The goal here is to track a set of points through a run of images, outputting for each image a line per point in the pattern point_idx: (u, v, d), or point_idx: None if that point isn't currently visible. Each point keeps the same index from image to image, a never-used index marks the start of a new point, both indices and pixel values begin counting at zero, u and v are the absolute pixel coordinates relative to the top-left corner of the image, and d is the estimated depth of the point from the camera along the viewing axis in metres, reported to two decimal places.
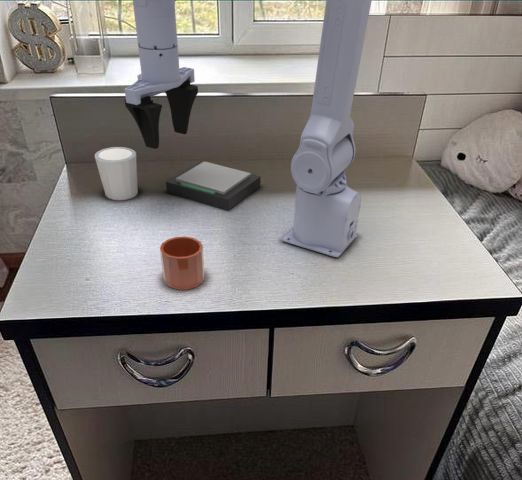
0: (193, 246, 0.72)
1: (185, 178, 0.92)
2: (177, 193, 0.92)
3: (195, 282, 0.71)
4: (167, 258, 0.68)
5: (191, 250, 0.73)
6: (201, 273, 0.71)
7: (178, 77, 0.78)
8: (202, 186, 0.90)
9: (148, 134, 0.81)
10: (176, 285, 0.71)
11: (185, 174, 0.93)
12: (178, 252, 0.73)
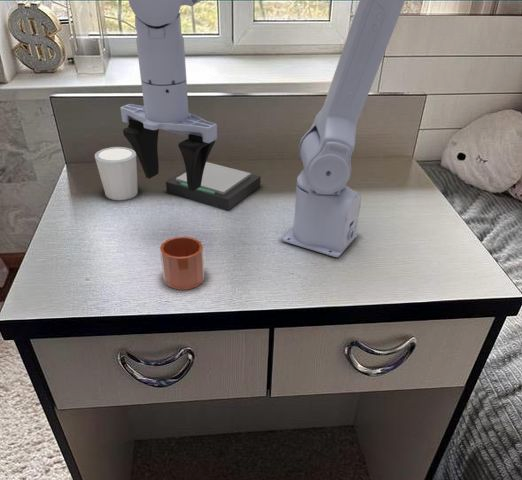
0: (193, 246, 0.72)
1: (185, 178, 0.92)
2: (177, 193, 0.92)
3: (195, 282, 0.71)
4: (167, 258, 0.68)
5: (191, 250, 0.73)
6: (201, 273, 0.71)
7: None
8: (202, 186, 0.90)
9: (197, 174, 0.72)
10: (176, 285, 0.71)
11: (185, 174, 0.93)
12: (178, 252, 0.73)
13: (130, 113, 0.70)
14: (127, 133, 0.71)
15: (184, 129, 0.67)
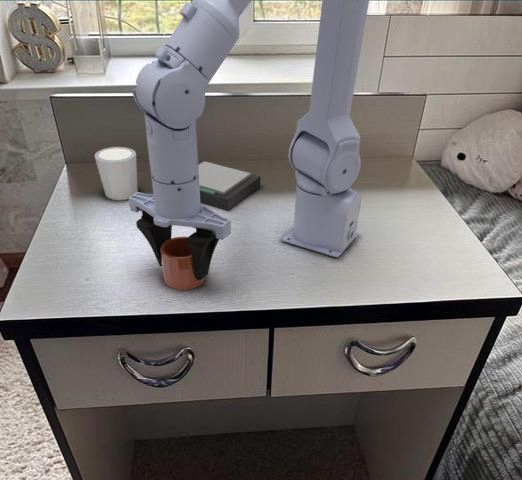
0: None
1: None
2: None
3: (195, 282, 0.71)
4: (167, 259, 0.68)
5: None
6: None
7: None
8: (202, 186, 0.90)
9: (204, 264, 0.70)
10: (176, 285, 0.71)
11: None
12: (178, 252, 0.73)
13: (139, 205, 0.67)
14: (140, 226, 0.67)
15: (196, 226, 0.64)
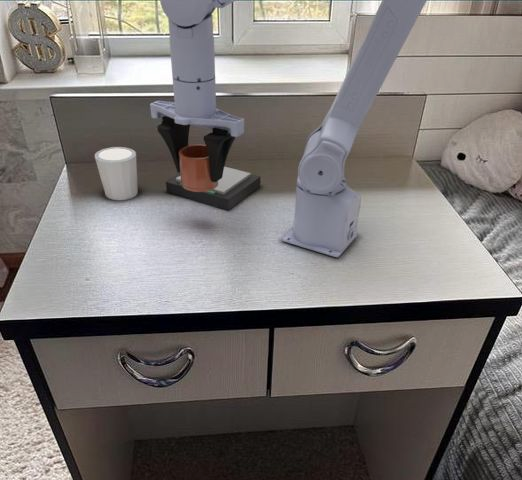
0: None
1: None
2: (177, 193, 0.92)
3: (210, 185, 0.78)
4: (186, 160, 0.75)
5: None
6: None
7: None
8: None
9: (219, 166, 0.76)
10: (193, 187, 0.77)
11: None
12: None
13: (160, 109, 0.74)
14: (161, 129, 0.74)
15: (213, 124, 0.71)
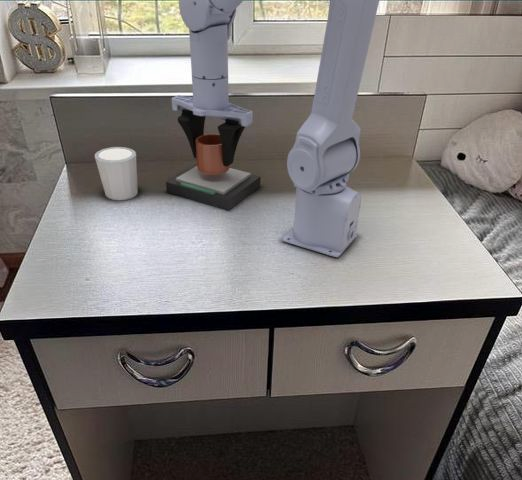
0: None
1: (185, 178, 0.92)
2: (177, 193, 0.92)
3: (223, 169, 0.90)
4: (202, 147, 0.87)
5: None
6: None
7: None
8: (202, 186, 0.90)
9: (230, 152, 0.88)
10: (208, 170, 0.89)
11: (185, 174, 0.93)
12: None
13: (180, 103, 0.86)
14: (181, 120, 0.86)
15: (226, 115, 0.83)
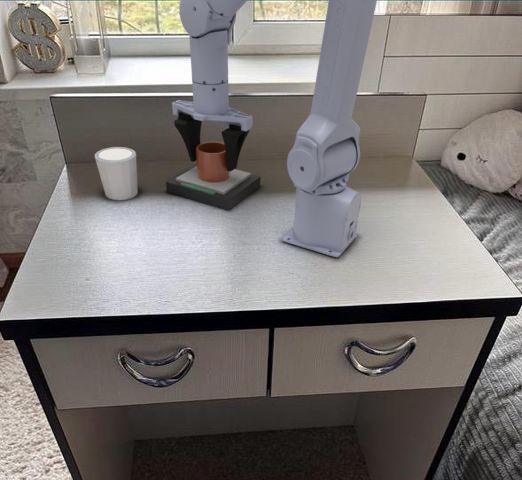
0: (221, 149, 0.92)
1: (185, 178, 0.92)
2: (177, 193, 0.92)
3: (223, 176, 0.91)
4: (202, 155, 0.88)
5: None
6: None
7: None
8: (202, 186, 0.90)
9: (234, 157, 0.88)
10: (208, 178, 0.90)
11: (185, 174, 0.93)
12: None
13: (181, 107, 0.86)
14: (177, 124, 0.87)
15: (226, 120, 0.83)
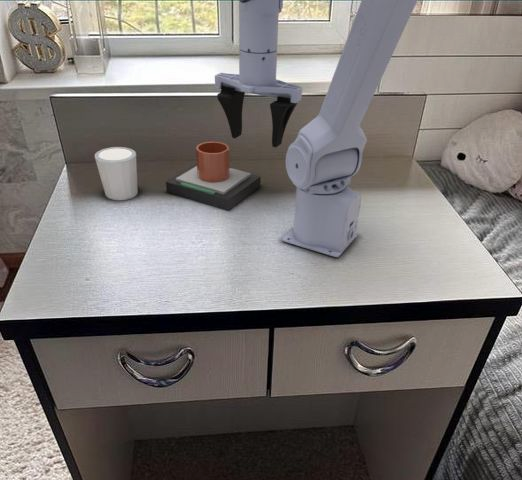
0: (221, 149, 0.92)
1: (185, 178, 0.92)
2: (177, 193, 0.92)
3: (223, 176, 0.91)
4: (202, 155, 0.88)
5: None
6: (227, 169, 0.91)
7: None
8: (202, 186, 0.90)
9: (280, 132, 0.85)
10: (208, 178, 0.90)
11: (185, 174, 0.93)
12: None
13: (225, 80, 0.82)
14: (221, 97, 0.83)
15: (275, 91, 0.79)
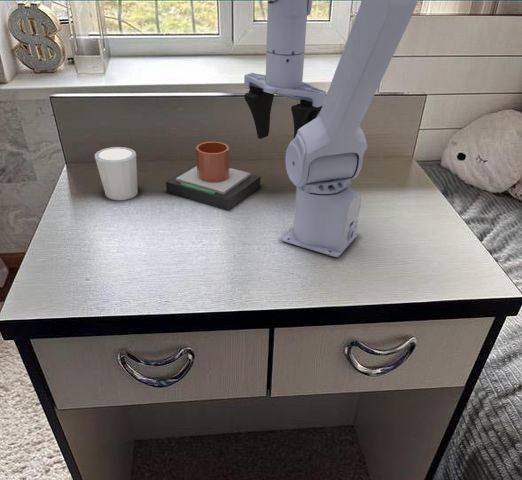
0: (221, 149, 0.92)
1: (185, 178, 0.92)
2: (177, 193, 0.92)
3: (223, 176, 0.91)
4: (202, 155, 0.88)
5: None
6: (227, 169, 0.91)
7: None
8: (202, 186, 0.90)
9: None
10: (208, 178, 0.90)
11: (185, 174, 0.93)
12: None
13: (253, 80, 0.83)
14: (247, 97, 0.83)
15: (298, 94, 0.78)
